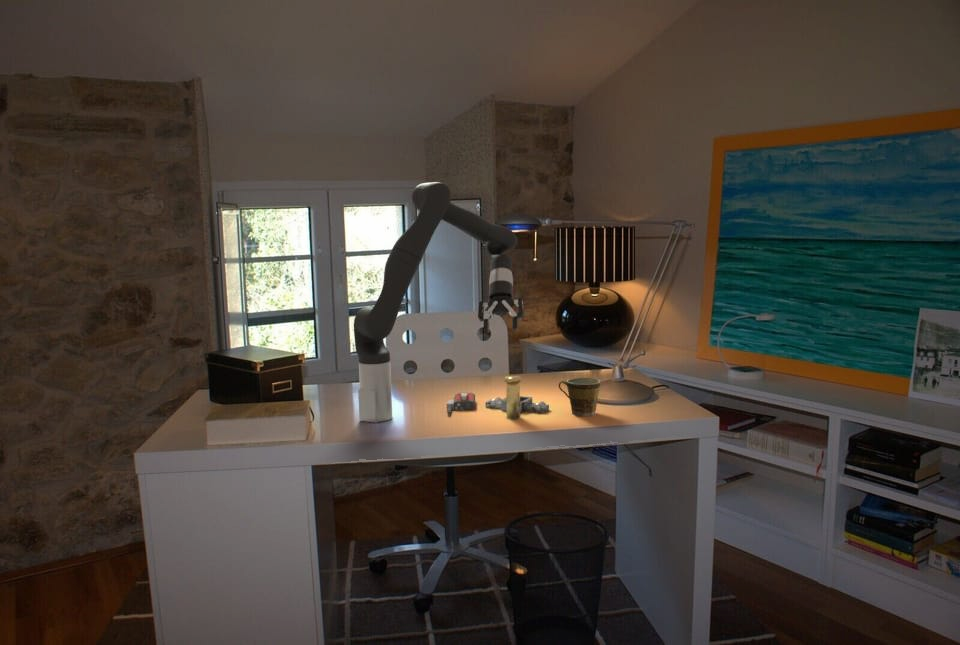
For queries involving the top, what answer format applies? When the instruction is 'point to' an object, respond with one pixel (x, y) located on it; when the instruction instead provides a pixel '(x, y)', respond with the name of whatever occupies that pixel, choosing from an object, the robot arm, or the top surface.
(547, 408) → the chain end
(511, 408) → the link pin
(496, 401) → the chain end
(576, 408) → the ceramic cup
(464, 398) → the walkie-talkie
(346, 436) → the top surface
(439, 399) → the top surface
